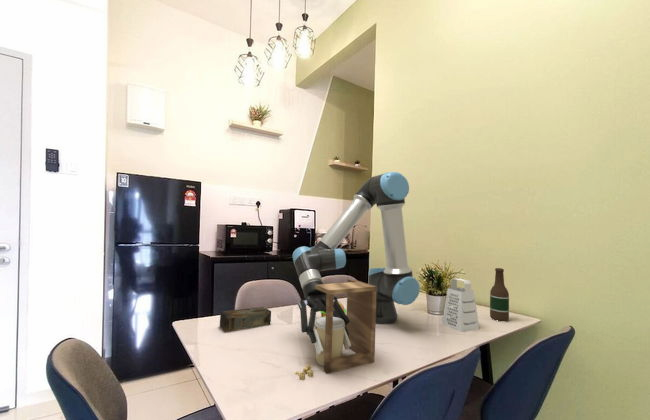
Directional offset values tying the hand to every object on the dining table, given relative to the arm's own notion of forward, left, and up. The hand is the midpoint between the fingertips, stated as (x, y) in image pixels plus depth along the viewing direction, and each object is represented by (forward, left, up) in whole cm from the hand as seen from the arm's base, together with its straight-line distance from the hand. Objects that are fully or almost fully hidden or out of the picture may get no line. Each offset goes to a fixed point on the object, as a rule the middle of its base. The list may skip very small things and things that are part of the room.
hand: (334, 350), depth 89 cm
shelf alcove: (-3, -4, -4) cm, 7 cm away
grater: (-69, -9, -5) cm, 70 cm away
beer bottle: (-96, -8, -5) cm, 96 cm away
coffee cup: (0, -3, -4) cm, 6 cm away
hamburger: (-21, -37, -5) cm, 42 cm away
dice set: (+10, +1, -5) cm, 11 cm away
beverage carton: (+15, -45, -5) cm, 47 cm away
